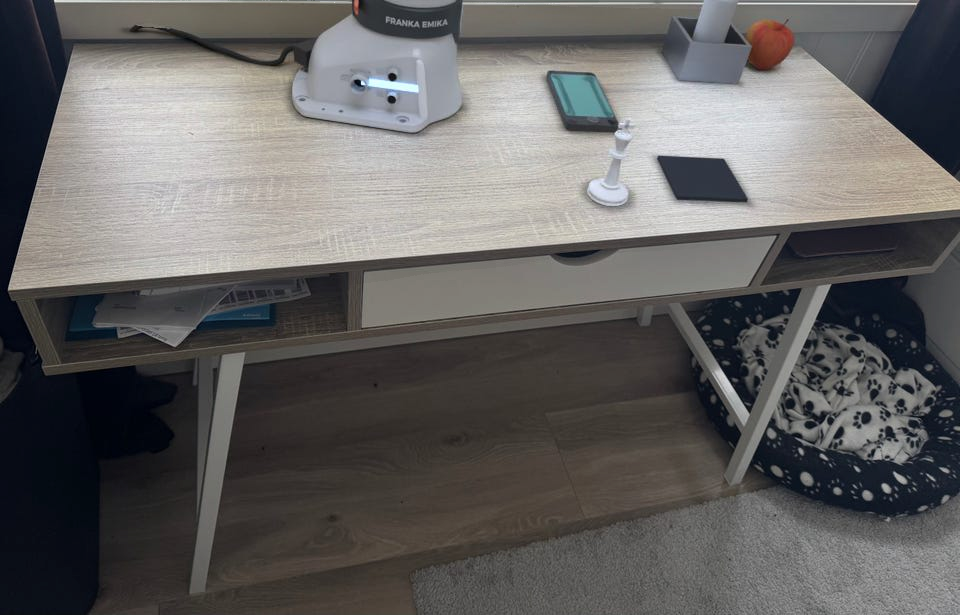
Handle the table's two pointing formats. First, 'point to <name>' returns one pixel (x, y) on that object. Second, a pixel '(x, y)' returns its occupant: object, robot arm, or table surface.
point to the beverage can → (714, 20)
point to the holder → (704, 53)
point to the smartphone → (581, 101)
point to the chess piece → (613, 172)
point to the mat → (701, 179)
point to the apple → (769, 43)
